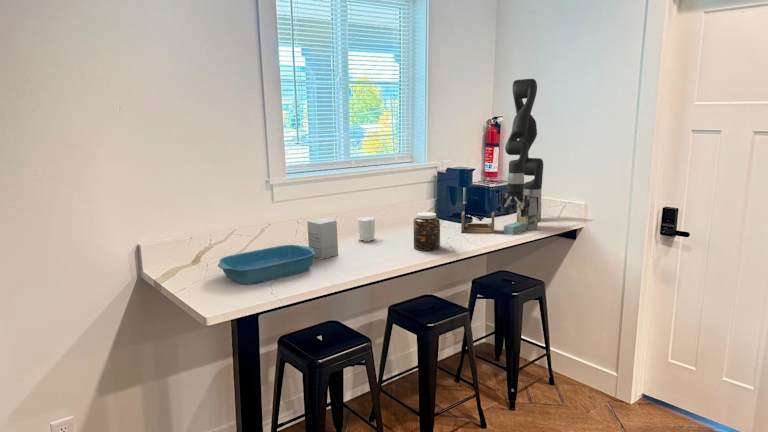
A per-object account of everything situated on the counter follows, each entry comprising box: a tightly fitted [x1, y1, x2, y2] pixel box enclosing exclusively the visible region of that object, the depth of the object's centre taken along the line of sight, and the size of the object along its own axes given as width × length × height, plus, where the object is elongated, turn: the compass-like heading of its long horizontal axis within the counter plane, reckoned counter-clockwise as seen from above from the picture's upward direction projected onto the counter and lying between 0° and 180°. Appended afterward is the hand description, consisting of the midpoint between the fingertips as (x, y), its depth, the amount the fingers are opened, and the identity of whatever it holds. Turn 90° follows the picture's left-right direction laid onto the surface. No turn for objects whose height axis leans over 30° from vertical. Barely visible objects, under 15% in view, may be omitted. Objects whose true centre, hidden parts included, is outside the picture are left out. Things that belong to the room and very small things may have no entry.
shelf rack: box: [460, 211, 495, 235], centre depth 255 cm, size 9×16×9 cm, turn 79°
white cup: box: [357, 216, 376, 242], centre depth 243 cm, size 8×8×10 cm
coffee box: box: [516, 195, 539, 231], centre depth 259 cm, size 9×6×16 cm
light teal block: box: [503, 221, 526, 236], centre depth 252 cm, size 5×12×4 cm, turn 136°
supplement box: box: [306, 217, 339, 260], centre depth 216 cm, size 9×9×15 cm
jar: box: [413, 211, 441, 252], centre depth 225 cm, size 12×12×15 cm
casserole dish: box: [217, 244, 315, 285], centre depth 194 cm, size 37×22×7 cm, turn 129°
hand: (514, 215), depth 251 cm, fingers open, 8 cm apart
